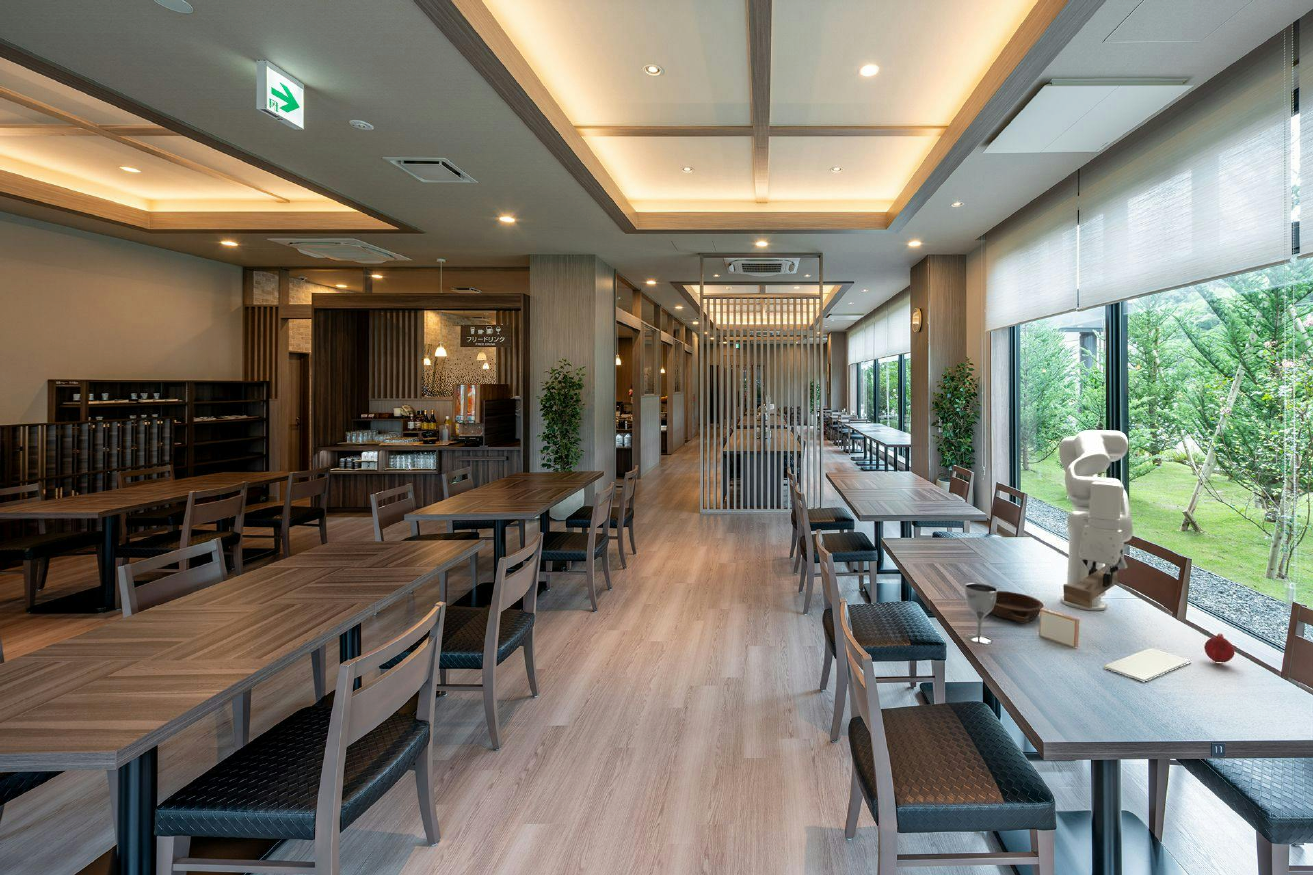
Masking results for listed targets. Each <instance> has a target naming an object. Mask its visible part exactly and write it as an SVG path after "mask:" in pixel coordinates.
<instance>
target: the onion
mask: <svg viewBox="0 0 1313 875" xmlns="http://www.w3.org/2000/svg"><path fill="white" fill-rule="evenodd" d="M1203 647H1204V652H1205V654H1206V655H1207V657H1208V658H1209V659H1210V660H1212V661H1213V662H1214V661H1215V662H1224V663H1227V662H1229V661H1230V660H1232V659H1233V658H1234V656H1235V647H1234V646H1233V644H1232V643H1231V642H1230V641H1229V640H1228V639H1226V638H1225V637H1224V634H1223V633H1221V632H1220V633H1217V635H1216V636H1213V637H1211V638H1209V639H1208V640H1206V642H1205V643H1204V646H1203ZM1215 662H1214V663H1215Z"/></svg>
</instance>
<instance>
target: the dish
mask: <svg viewBox="0 0 1313 875" xmlns="http://www.w3.org/2000/svg"><path fill="white" fill-rule="evenodd" d="M1044 607H1045V604H1044V603H1043V602H1042V601H1040V600H1039V599H1037V598H1035V597H1032V596H1030V595H1026V594H1024V593H1023V594H1022V593H1019V592H1013V591H1007V590H1006V591H1004V590H997V599H996V603H995V606H994V608H993V610H992V611H991V612H990V613H989V614H991V615H994V616H997V617H999V618H1002V619H1006V620H1007V619H1008V620H1012V621H1015V622H1018V623H1027V622H1029V621H1033V620H1035V619H1037V618H1038V617H1039V616H1040V609H1042V608H1043V609H1044Z"/></svg>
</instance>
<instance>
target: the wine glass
mask: <svg viewBox="0 0 1313 875" xmlns="http://www.w3.org/2000/svg"><path fill="white" fill-rule="evenodd" d="M964 589H965V590H964V592H965V593H964V594H965V601H966V605H967V606H968V608H969V610H970V611H972V614H974V615H975V618H976V622H977V623H976V624H977V632H976V633H977V634H975V633H970V634H966V635H965V636H964V638H965V639H966V640H967V641H969V642H971V643H975V644H979V645H991V644H993V643H994V641H993V639H992V638H991V637H988V636H986V635H982V634H981V633H982V632H981V631H982V624H983V620H984V619H985V617H986V616H987V615H989V614H991V613H990V612H991V611H992V610H993V608H994V606H995V603H996V599H997V591H998V589H997V588H996V587H995V586H993V585H990V584H984V583H979V582H970V583H966V584H965V588H964Z"/></svg>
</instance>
